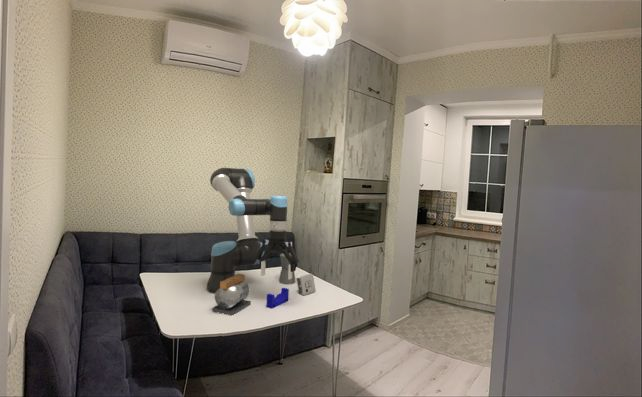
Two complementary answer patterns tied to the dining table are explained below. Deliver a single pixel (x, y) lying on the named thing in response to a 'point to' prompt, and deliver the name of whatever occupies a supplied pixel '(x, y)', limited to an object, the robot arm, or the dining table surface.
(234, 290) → the silver rounded piece
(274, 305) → the blue notched block
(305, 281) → the electrical switch
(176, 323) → the dining table surface
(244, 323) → the dining table surface
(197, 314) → the dining table surface
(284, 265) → the coffeepot
